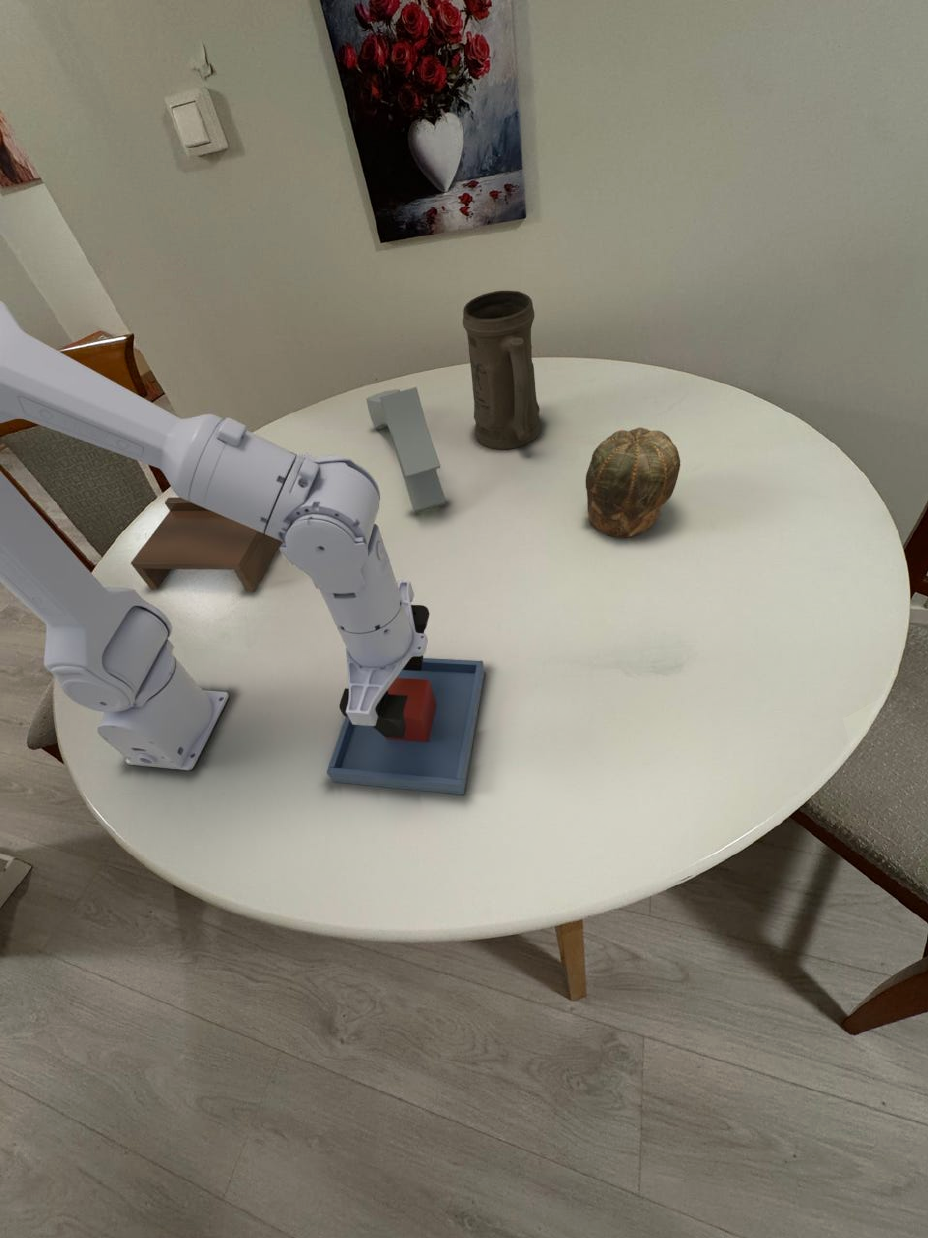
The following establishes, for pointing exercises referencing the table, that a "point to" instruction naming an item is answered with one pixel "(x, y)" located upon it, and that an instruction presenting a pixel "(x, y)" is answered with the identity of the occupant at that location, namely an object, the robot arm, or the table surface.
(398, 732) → the robot arm
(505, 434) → the beer stein
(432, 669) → the tray
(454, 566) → the table surface
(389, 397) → the faucet
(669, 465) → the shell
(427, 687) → the block
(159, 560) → the shelf
